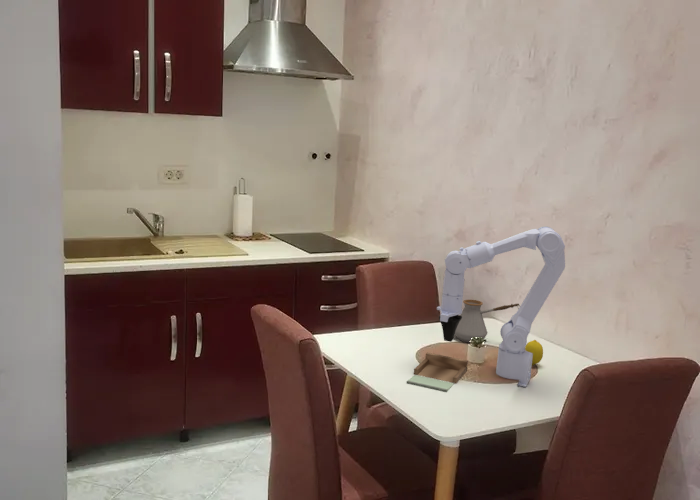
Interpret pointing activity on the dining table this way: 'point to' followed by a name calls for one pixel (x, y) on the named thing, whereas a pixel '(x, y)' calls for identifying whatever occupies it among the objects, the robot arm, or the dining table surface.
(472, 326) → the coffee pot
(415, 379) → the panel
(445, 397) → the dining table surface
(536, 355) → the lemon
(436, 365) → the tray
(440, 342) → the dining table surface
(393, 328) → the dining table surface
